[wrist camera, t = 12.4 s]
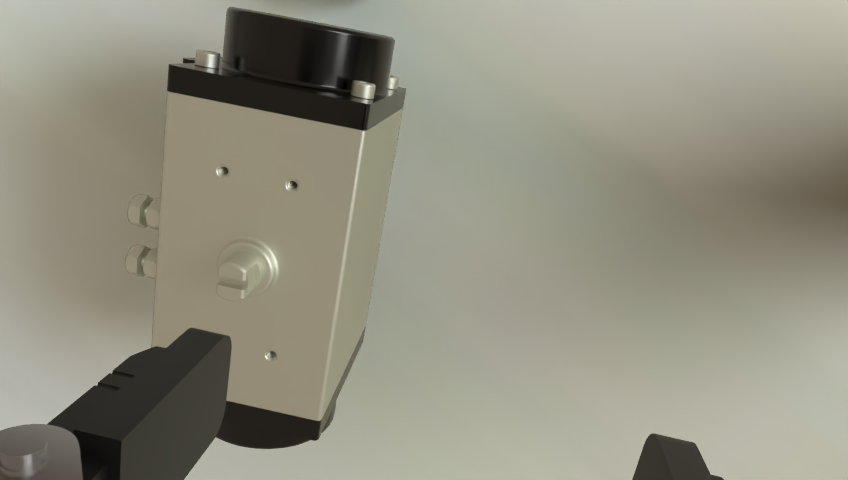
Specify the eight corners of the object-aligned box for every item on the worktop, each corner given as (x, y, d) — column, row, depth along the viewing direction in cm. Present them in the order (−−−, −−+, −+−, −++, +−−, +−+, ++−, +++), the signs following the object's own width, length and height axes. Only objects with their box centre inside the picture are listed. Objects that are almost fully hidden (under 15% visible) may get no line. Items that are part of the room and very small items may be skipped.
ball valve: (283, 14, 37) (104, -16, 20) (428, 42, 37) (371, 35, 20) (251, 299, 42) (89, 466, 25) (377, 327, 42) (298, 515, 25)
